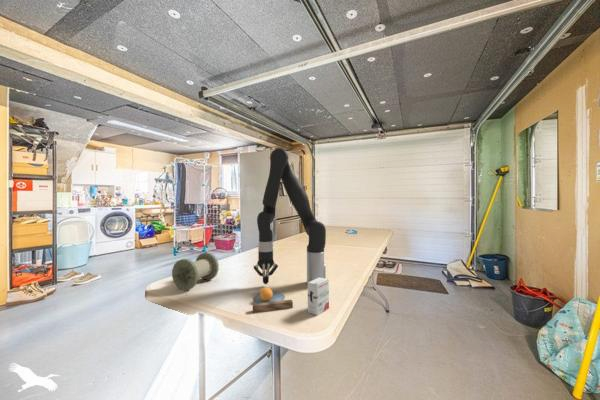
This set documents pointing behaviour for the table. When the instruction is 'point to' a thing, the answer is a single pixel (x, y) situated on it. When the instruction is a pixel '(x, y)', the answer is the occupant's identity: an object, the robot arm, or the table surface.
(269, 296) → the ball
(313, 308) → the ink box
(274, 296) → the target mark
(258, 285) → the table surface
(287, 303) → the brown square bar
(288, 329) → the table surface
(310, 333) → the table surface
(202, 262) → the spool
